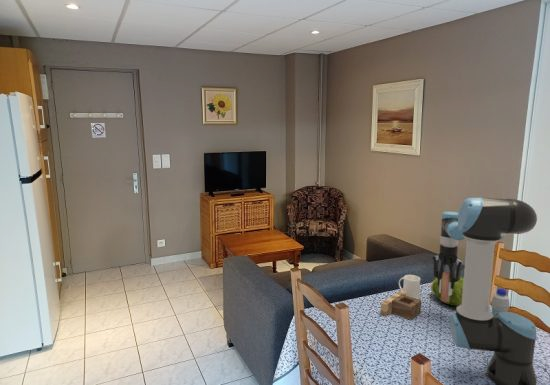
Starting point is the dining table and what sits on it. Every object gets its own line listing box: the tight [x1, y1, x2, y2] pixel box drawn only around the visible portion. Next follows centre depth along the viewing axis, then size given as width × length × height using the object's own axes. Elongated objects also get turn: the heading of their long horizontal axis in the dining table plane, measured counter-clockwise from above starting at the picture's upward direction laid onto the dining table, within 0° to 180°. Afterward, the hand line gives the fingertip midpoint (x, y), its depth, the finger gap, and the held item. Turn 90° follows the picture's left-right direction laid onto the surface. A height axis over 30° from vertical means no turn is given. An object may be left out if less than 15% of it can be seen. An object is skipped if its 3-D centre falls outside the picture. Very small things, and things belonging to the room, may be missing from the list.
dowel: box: [440, 270, 451, 303], centre depth 184 cm, size 4×4×14 cm
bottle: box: [491, 288, 510, 317], centre depth 170 cm, size 7×7×20 cm
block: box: [391, 295, 422, 321], centre depth 189 cm, size 10×10×6 cm
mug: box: [398, 274, 421, 300], centre depth 205 cm, size 12×8×12 cm
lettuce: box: [430, 274, 464, 307], centre depth 201 cm, size 16×21×15 cm
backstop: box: [380, 290, 406, 317], centre depth 193 cm, size 20×3×6 cm, turn 136°
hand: (445, 293), depth 184 cm, fingers closed on dowel, 3 cm apart
